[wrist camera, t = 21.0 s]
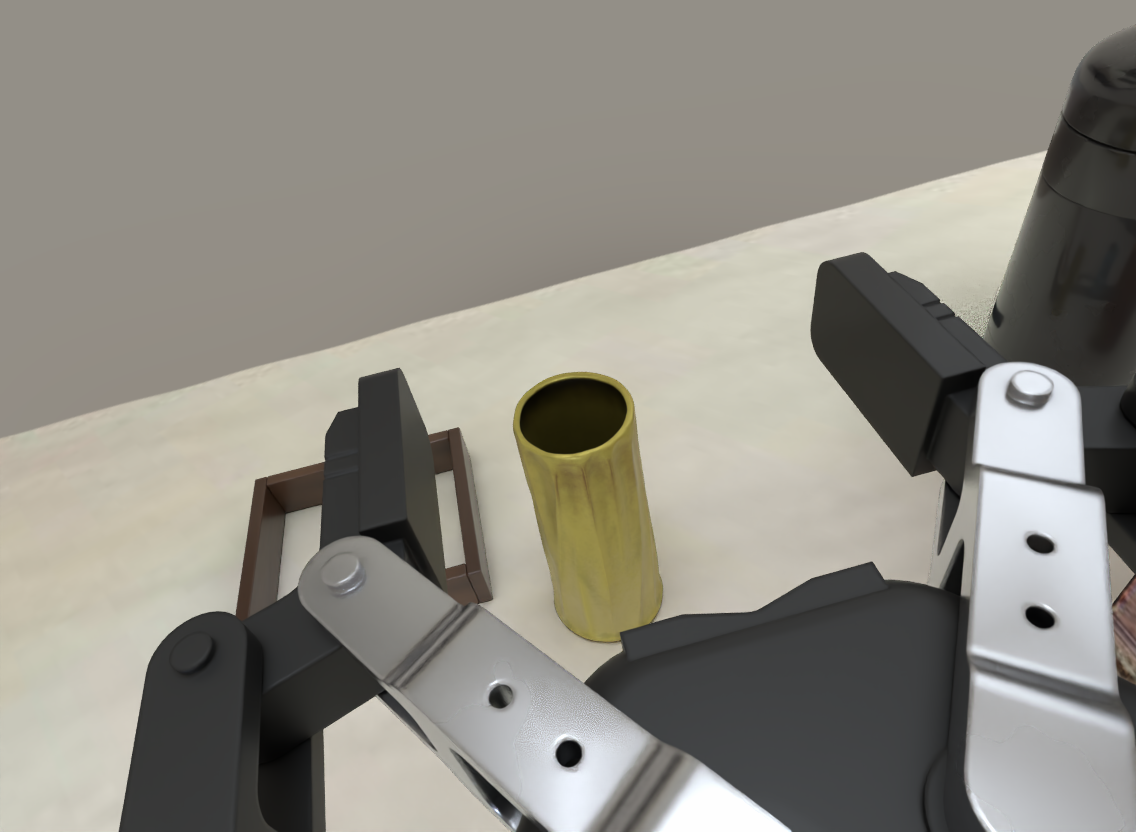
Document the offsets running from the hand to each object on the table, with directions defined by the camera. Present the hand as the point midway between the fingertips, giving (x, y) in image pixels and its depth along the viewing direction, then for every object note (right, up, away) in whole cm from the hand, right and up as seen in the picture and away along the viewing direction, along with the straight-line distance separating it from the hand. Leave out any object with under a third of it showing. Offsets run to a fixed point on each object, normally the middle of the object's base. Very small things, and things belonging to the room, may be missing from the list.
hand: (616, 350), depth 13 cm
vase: (+1, -11, +26) cm, 28 cm away
